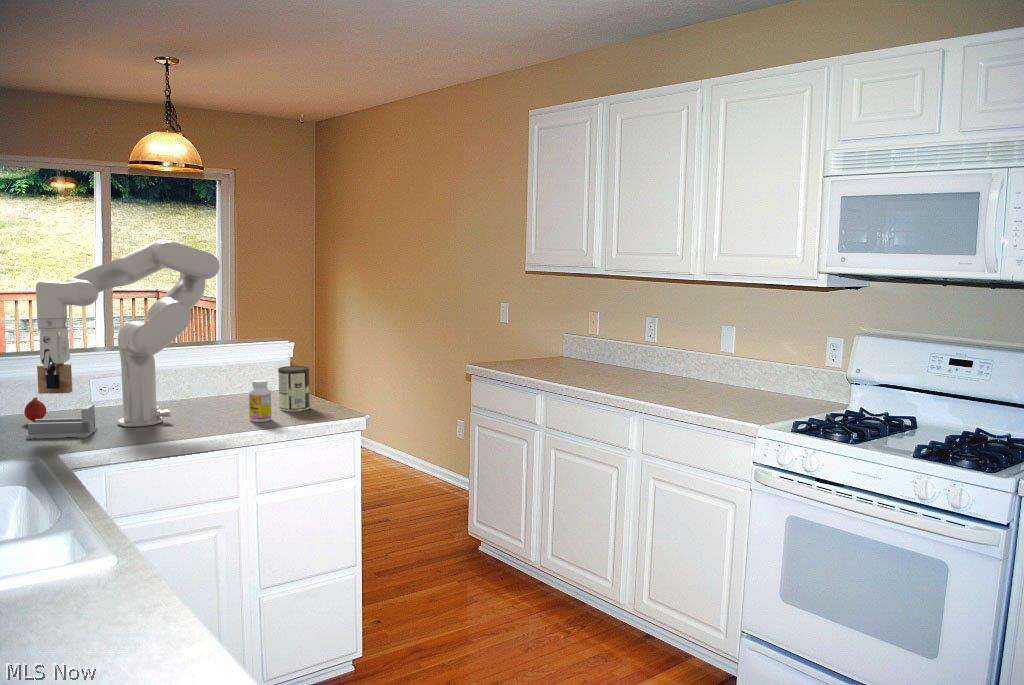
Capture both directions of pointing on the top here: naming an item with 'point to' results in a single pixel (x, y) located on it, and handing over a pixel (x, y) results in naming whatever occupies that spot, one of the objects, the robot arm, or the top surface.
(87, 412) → the track
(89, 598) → the top surface
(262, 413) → the supplement bottle
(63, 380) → the door slab
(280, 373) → the coffee can
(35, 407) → the onion
